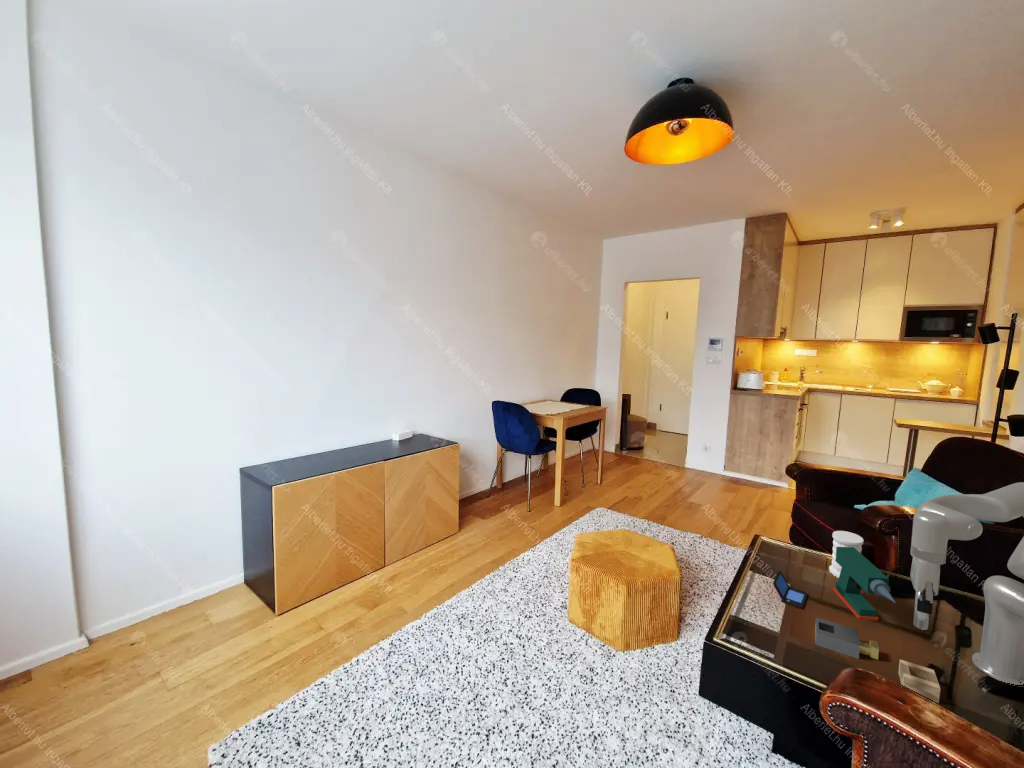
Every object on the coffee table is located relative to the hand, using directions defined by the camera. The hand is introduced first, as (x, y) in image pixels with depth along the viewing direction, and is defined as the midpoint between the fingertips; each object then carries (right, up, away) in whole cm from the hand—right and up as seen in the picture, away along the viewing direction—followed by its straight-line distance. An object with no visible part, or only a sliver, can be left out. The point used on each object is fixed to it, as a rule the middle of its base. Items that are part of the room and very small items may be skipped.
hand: (922, 608), depth 128 cm
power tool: (+12, -22, +35) cm, 43 cm away
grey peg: (0, -6, +1) cm, 6 cm away
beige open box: (+2, -27, +3) cm, 27 cm away
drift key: (-5, -24, +19) cm, 31 cm away
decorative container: (+25, -17, +61) cm, 68 cm away
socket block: (-10, -24, +22) cm, 34 cm away
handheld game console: (-9, -21, +48) cm, 53 cm away
